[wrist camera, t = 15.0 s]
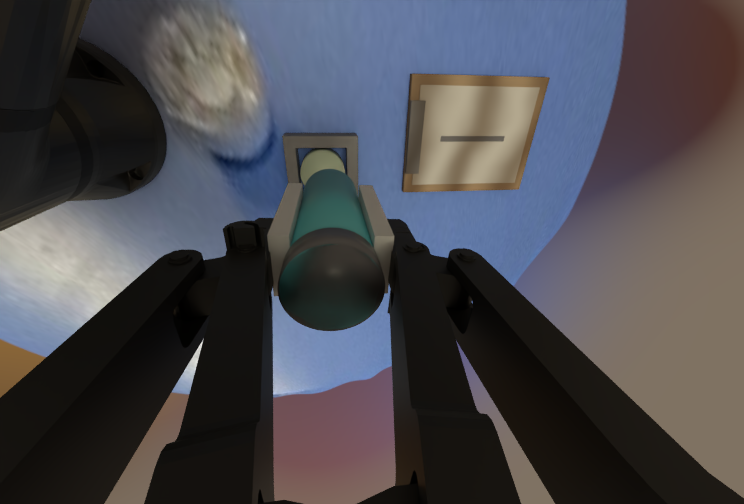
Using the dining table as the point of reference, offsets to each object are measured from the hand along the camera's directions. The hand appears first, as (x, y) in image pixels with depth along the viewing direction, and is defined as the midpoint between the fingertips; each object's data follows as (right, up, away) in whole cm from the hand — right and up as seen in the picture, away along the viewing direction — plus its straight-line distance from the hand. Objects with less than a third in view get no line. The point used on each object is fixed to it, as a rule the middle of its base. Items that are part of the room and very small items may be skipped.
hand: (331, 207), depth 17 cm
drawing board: (+14, +12, +19) cm, 26 cm away
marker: (-1, +2, +5) cm, 5 cm away
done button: (-4, +8, +18) cm, 20 cm away
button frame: (-4, +8, +18) cm, 20 cm away
